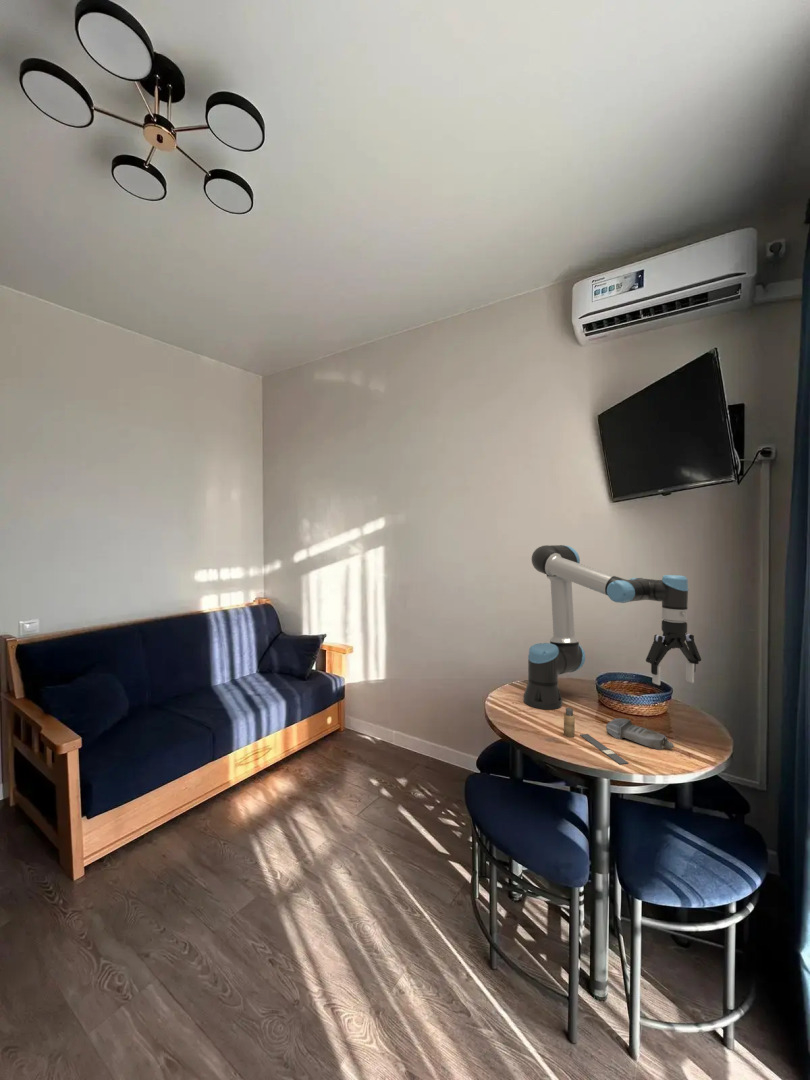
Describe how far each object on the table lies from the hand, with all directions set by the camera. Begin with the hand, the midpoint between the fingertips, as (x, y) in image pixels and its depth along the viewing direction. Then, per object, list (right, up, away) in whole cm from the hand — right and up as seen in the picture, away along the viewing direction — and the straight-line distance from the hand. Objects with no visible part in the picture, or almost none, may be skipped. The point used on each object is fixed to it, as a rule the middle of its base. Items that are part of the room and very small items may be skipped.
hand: (673, 682), depth 153 cm
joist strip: (-28, -18, -9) cm, 35 cm away
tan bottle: (-35, -18, +1) cm, 40 cm away
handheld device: (-12, -19, -2) cm, 23 cm away
